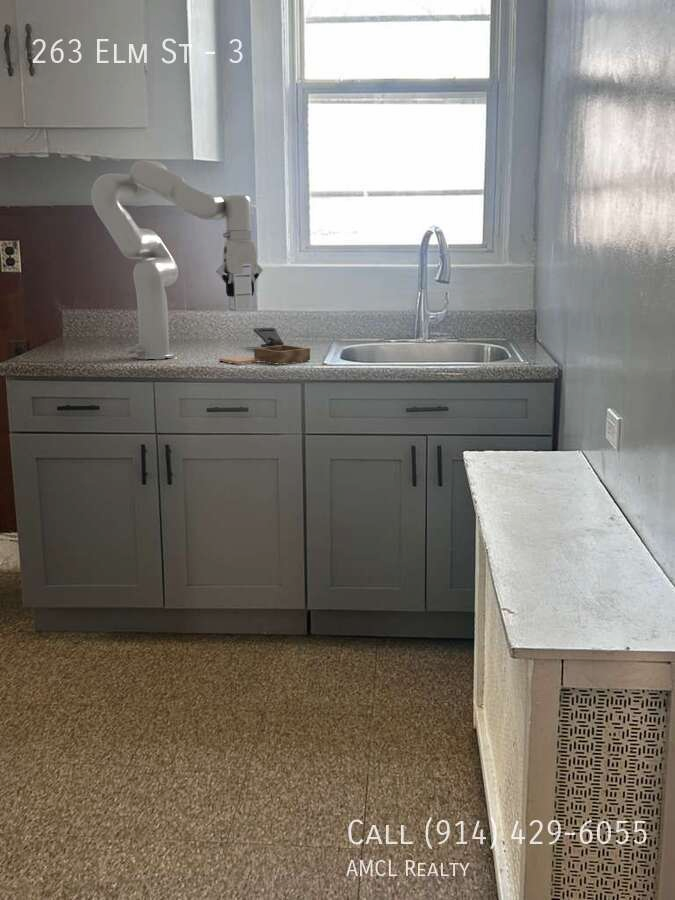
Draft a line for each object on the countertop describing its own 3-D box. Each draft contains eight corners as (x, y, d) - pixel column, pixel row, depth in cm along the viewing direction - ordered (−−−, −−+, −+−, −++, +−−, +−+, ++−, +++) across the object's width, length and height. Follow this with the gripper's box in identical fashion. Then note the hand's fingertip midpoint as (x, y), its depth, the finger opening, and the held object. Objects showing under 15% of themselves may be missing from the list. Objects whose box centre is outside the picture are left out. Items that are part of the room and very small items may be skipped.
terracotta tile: (239, 364, 322) (239, 361, 322) (218, 361, 329) (218, 358, 329) (263, 361, 329) (263, 358, 329) (243, 358, 336) (243, 355, 336)
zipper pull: (276, 327, 366) (291, 335, 342) (276, 346, 367) (292, 355, 344) (251, 327, 364) (264, 336, 340) (251, 347, 365) (265, 356, 342)
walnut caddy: (280, 365, 322) (280, 352, 321) (254, 361, 331) (254, 348, 330) (310, 361, 330) (309, 348, 330) (283, 357, 339) (283, 344, 338)
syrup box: (252, 310, 324) (251, 263, 321) (235, 311, 322) (233, 263, 319) (246, 309, 329) (245, 262, 326) (228, 310, 327) (227, 262, 324)
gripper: (219, 237, 313) (221, 298, 317) (269, 236, 322) (270, 295, 326) (207, 236, 319) (209, 296, 323) (257, 235, 328) (258, 293, 332)
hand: (240, 295), depth 325 cm, fingers closed on syrup box, 6 cm apart
